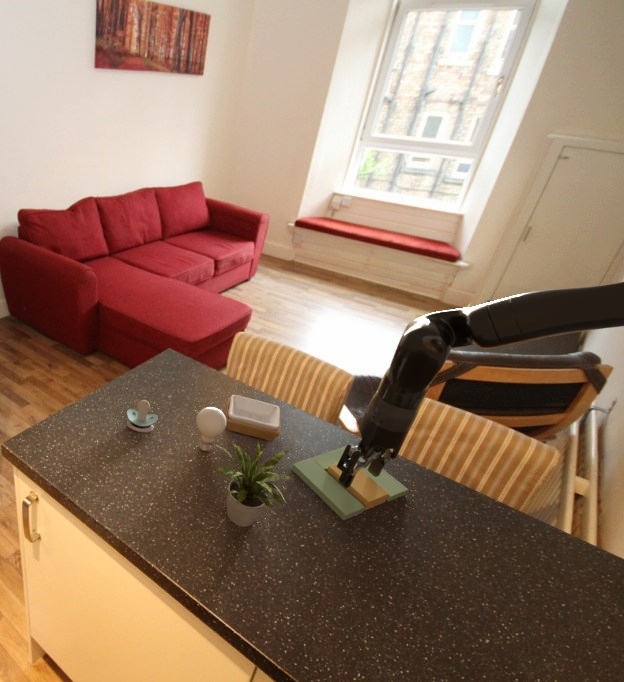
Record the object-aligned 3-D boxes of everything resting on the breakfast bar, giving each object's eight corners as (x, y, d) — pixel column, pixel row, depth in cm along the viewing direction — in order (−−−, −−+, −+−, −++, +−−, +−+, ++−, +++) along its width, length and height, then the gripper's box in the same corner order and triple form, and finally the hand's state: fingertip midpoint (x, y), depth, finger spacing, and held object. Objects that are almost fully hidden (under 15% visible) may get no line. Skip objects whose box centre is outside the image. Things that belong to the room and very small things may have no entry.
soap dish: (221, 431, 105) (225, 415, 102) (225, 407, 113) (229, 391, 110) (276, 446, 102) (281, 429, 99) (276, 420, 110) (281, 404, 107)
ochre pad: (344, 467, 97) (348, 458, 96) (385, 502, 90) (389, 493, 88) (324, 474, 95) (328, 465, 94) (364, 510, 87) (368, 502, 86)
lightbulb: (184, 448, 99) (192, 409, 93) (200, 435, 103) (209, 397, 98) (209, 463, 95) (219, 424, 90) (224, 449, 99) (234, 410, 94)
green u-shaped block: (343, 520, 85) (346, 515, 84) (290, 468, 96) (292, 463, 95) (405, 494, 92) (408, 489, 91) (350, 449, 103) (352, 444, 102)
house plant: (191, 535, 80) (208, 469, 71) (199, 479, 91) (214, 417, 83) (273, 558, 77) (300, 493, 69) (271, 497, 88) (294, 435, 80)
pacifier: (153, 437, 101) (158, 420, 106) (156, 416, 98) (161, 400, 103) (122, 429, 103) (128, 413, 108) (124, 408, 100) (130, 393, 105)
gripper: (380, 439, 77) (348, 502, 85) (432, 421, 83) (398, 483, 91) (345, 412, 83) (318, 474, 91) (396, 398, 89) (366, 458, 97)
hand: (358, 478), depth 91 cm, fingers open, 8 cm apart
